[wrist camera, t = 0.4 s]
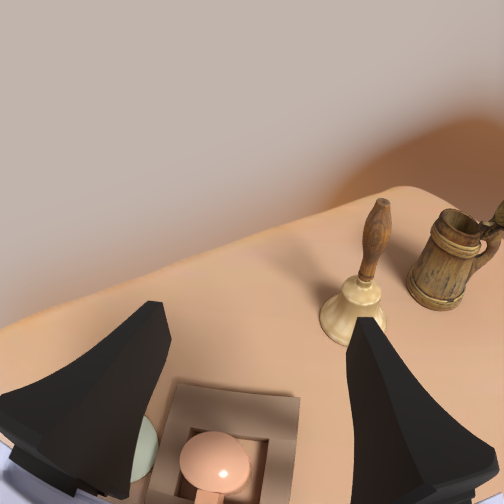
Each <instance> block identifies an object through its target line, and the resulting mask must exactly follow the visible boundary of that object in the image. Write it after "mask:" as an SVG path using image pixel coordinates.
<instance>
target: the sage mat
mask: <svg viewBox="0 0 504 504" xmlns="http://www.w3.org/2000/svg"><path fill="white" fill-rule="evenodd" d="M158 449H159V443H158V437H157V433H156V430H155V428H154V426H153V425H152V423H151V422H150V421H149V419H148V418H147V417H146V416H145V415H144V417H143V421H142V425H141V429H140V432H139V436H138V441H137V445H136V450H135V455H134V461H133V467H132V473H131V481H130V483H132V482H135V481H137V480H139V479H141V478H143V477H144V476H145V475H146V474H147V473H148V472H149V471H150V470H151V469H152V467H153V466H154V464H155V460H156V456H157V453H158Z"/></svg>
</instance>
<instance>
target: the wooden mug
mask: <svg viewBox="0 0 504 504" xmlns="http://www.w3.org/2000/svg"><path fill="white" fill-rule="evenodd" d="M501 231H504V201H503V202H502V203H501V204H500V205H499V207H498V208H497V210H496V212H495V214H494V216H493V218H492V219H491V220H490V221H488V222H486V221H481V222H480V223H479V224H478V223H477V222H476V221H475V220H474V219H473V218H472V217H471V216H470V215H468V214H466V213H464V212H462V211H459V210H456V209H450V208H449V209H445V210H443V211H442V212H441V213H440V216H439V218H438V219H437V220H436V221H435V222H434V224H433V226H432V227H431V231H430V233H431V236H430V238H429V240H428V242H427V244H426V246H425V248H424V249H423V251H422V253H421V255H420V257H419V259H418V261H417V262H416V263H415V264H414V265H413V266H412V268H411V270H410V272H409V274H408V276H407V286H408V290H409V291H410V293H411V295H412V296H413V297H414V298H415V300H416V301H417V302H419V303H420V304H421V305H423V306H424V307H426V308H429V309H431V310H436V311H447V310H452V309H454V308H455V307H457V306H458V305H459V303H460V301H461V300H462V297H463V295H464V292H465V289H466V286H465V284H466V283H467V282H468V280H469V279H470V277H471V276H472V275H473V274H474V273H475V272H476V271H477V270H478V269H480V268H481V267H482V266H483V265H485V264H486V263H487V262H488V261H489V260H490V259H491V258H492V257H493V256H494V255H495V253H496V252H497V251H498V249H499V246H500V243H501V238H502V233H501ZM480 240H484V241H486V243H487V248H486V250H485V251H484V252H482V253H481V254H478V252H479V250H480V248H481V242H480ZM477 254H478V255H477Z"/></svg>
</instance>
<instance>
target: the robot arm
mask: <svg viewBox="0 0 504 504" xmlns="http://www.w3.org/2000/svg"><path fill="white" fill-rule="evenodd" d="M171 340H172V339H171V335H170V331H169V327H168V323H167V319H166V315H165V311H164V307H163V303H162V302H156V301H147V302H146V303H145V304H143V305H142V306H141V307H140V308H139V309H138V310H137V311H136V312H134V313H133V314H132V315H131V316H130V317H129V318H128V319H127V320H125V321H124V322H123V323H122V324H121V325H120V326H119V327H117V328H116V329H115V330H114V331H113V332H112V333H110V334H109V335H108V336H107V337H106V338H104V339H103V340H102V341H101V342H99V343H98V344H97V345H96V346H94V347H93V348H92V349H90V350H89V351H88V352H86V353H85V354H84V355H82V356H81V357H79V358H78V359H76V360H75V361H73V362H72V363H70V364H69V365H67V366H65V367H63V368H62V369H60V370H58V371H56V372H55V373H53V374H51V375H49V376H47V377H45V378H43V379H41V380H39V381H37V382H35V383H32V384H30V385H28V386H25V387H22V388H20V389H17V390H14V391H11V392H8V393H5V394H1V396H0V432H1V433H2V434H3V435H4V436H5V437H6V438H8V439H9V440H10V441H11V442H12V443H14V444H15V445H14V447H13V449H12V448H10V447H9V446H8V445H6V444H5V443H3V442H2V441H1V440H0V504H113V503H110V502H108V501H105V500H103V499H100V498H98V497H97V495H98V494H99V495H102V496H104V497H107V495H109V496H112V497H114V498H117V499H120V500H123V499H126V498H128V497H129V490H130V481H131V473H132V467H133V461H134V455H135V450H136V445H137V441H138V436H139V432H140V429H141V425H142V421H143V417H144V414H145V411H146V408H147V405H148V403H149V401H150V398H151V396H152V393H153V391H154V388H155V386H156V384H157V381H158V379H159V376H160V374H161V372H162V369H163V367H164V364H165V362H166V358H167V355H168V351H169V347H170V343H171ZM346 372H347V383H348V390H349V397H350V404H351V411H352V419H353V426H354V471H353V485H352V495H351V503H350V504H472V502H471V499H473V498H474V497H475V488H477V487H479V486H480V485H482V484H484V483H485V482H487V481H489V480H490V479H492V478H493V477H495V476H496V475H497V474H498V472H499V470H500V469H499V465H498V461H497V456H496V452H495V449H494V448H493V447H491V446H490V445H488V444H487V443H485V442H484V441H482V440H481V439H479V438H478V437H476V436H475V435H473V434H472V433H471V432H469V431H468V430H467V429H466V428H464V427H463V426H462V425H461V424H459V423H458V422H457V421H456V420H455V419H454V418H453V417H452V416H450V415H449V414H448V413H447V412H446V411H445V410H444V409H443V408H442V407H441V406H440V405H439V404H438V403H437V402H436V401H435V400H434V399H433V398H432V397H431V396H430V394H429V393H428V392H427V391H426V390H425V389H424V388H423V387H422V385H421V384H420V383H419V382H418V380H417V379H416V378H415V377H414V375H413V374H412V373H411V371H410V370H409V369H408V367H407V366H406V365H405V363H404V362H403V360H402V359H401V358H400V356H399V355H398V353H397V352H396V351H395V349H394V348H393V346H392V345H391V343H390V342H389V340H388V339H387V337H386V336H385V334H384V332H383V331H382V329H381V328H380V326H379V325H378V323H377V322H376V320H375V319H374V318H373V317H357V320H356V323H355V326H354V330H353V333H352V336H351V339H350V342H349V345H348V348H347V352H346ZM475 504H504V499H503V493H502V492H500V493H498V494H496V495H493V496H491V497H489V498H487V499H484V500H482V501H479V502H477V503H475Z"/></svg>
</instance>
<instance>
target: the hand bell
mask: <svg viewBox="0 0 504 504" xmlns="http://www.w3.org/2000/svg"><path fill="white" fill-rule="evenodd" d="M391 226H392V221H391V213H390V202H389V201H388V200H387V199H384V198H378V199H377V200H376V203H375V205H374V207H373V209H372V210H371V212H370V213H369V215H368V217H367V219H366V222H365V226H364V231H363V240H362V242H363V259H362V263H361V266H360V270H359V272H358V275H355V276H351V277H349V278H348V279H347V280H346V281H345V282H344V283H343V285H342V288H341V291H340V293H339V294H337V295H335V296H333V297H331V298H330V299H329V300H328V301H327V302H326V303H325V304H324V305H323V307H322V309H321V312H320V323H321V326H322V328H323V330H324V332H325V333H326V334H327V335H328V336H329V337H330V338H331V339H332V340H333V341H335V342H337V343H338V344H341V345H344V346H348V345H349V342H350V339H351V336H352V333H353V330H354V326H355V323H356V320H357V317H373V318H374V319H375V320H376V322H377V323H378V325H379V326H380V328H381V329H382V331H383V332H385V329H386V323H387V322H386V316H385V313H384V311H383V309H382V307H381V306H380V298H381V288H380V286H379V284H378V283H377V282H376V281H375V280H374V279H373V278H374V273H375V269H376V265H377V261H378V259H379V257H380V255H381V254H382V252H383V251H384V249H385V247H386V245H387V243H388V240H389V237H390V233H391Z"/></svg>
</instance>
